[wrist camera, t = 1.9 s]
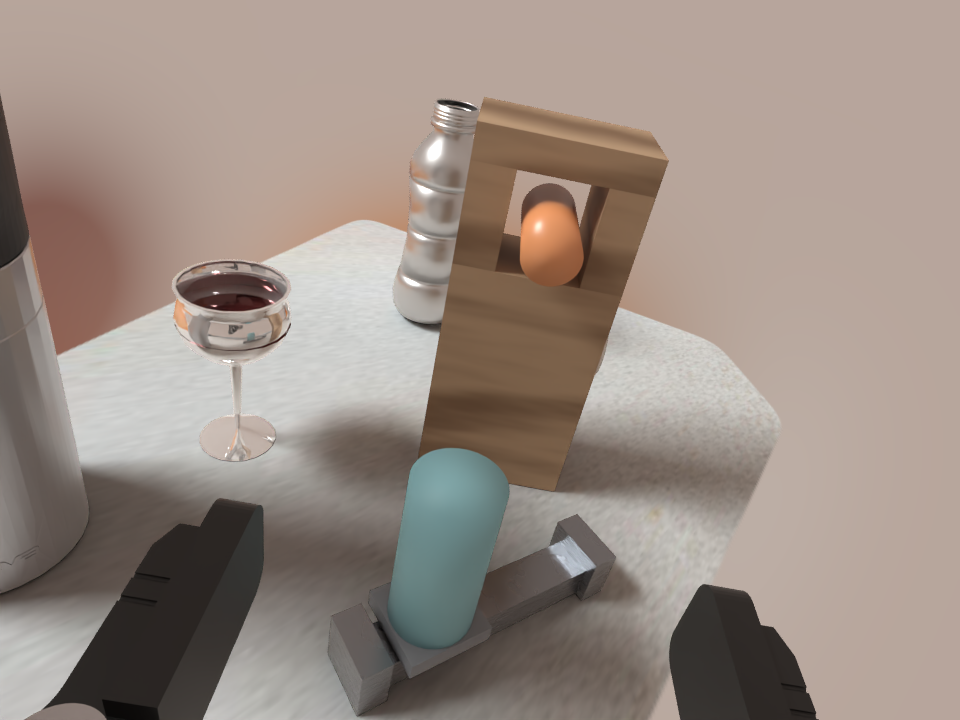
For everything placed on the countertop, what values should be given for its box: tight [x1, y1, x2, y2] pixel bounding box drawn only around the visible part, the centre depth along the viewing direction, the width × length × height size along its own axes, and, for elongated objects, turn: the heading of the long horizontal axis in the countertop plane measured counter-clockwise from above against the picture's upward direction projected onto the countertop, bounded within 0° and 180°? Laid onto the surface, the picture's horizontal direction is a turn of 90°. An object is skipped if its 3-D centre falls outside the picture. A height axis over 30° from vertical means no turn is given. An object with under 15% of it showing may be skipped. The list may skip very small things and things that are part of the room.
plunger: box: [520, 183, 584, 287], centre depth 35 cm, size 7×3×3 cm, turn 176°
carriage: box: [368, 448, 510, 679], centre depth 30 cm, size 5×5×10 cm
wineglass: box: [172, 259, 292, 461], centre depth 41 cm, size 7×7×12 cm
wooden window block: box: [418, 97, 669, 491], centre depth 42 cm, size 6×10×24 cm, turn 86°
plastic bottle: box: [393, 99, 479, 324], centre depth 58 cm, size 6×7×20 cm
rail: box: [328, 514, 616, 716], centre depth 35 cm, size 4×16×3 cm, turn 123°
